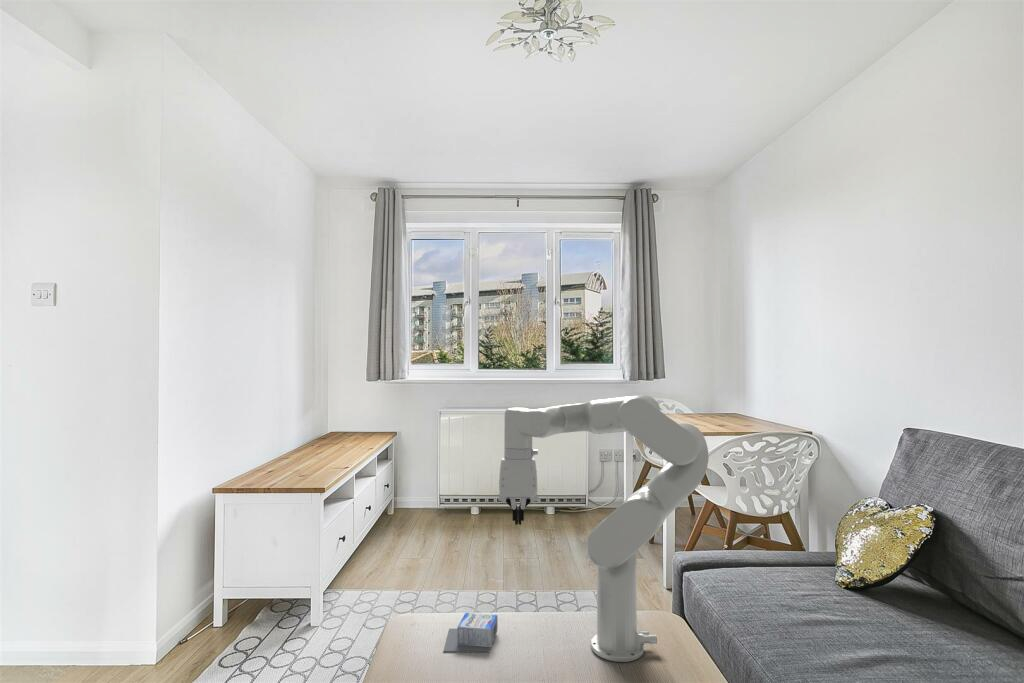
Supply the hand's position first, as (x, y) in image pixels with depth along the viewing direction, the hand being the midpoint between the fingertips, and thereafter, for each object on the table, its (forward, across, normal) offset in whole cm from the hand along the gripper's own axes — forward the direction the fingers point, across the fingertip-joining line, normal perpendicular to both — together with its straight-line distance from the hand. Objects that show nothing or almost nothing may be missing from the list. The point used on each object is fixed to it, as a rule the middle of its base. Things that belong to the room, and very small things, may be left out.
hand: (518, 523), depth 142 cm
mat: (+27, +13, +7) cm, 30 cm away
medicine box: (+24, +6, +8) cm, 26 cm away
